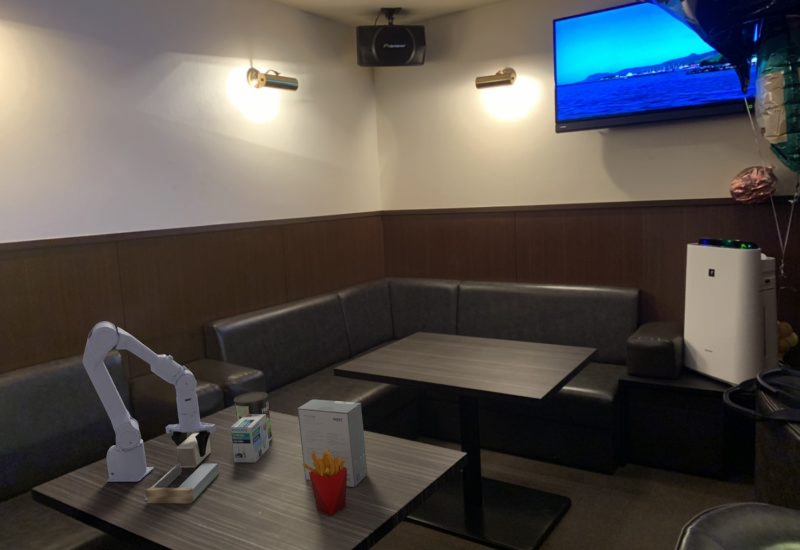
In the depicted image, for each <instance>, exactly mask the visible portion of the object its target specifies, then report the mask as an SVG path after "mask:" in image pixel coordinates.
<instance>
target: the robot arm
mask: <svg viewBox="0 0 800 550" xmlns="http://www.w3.org/2000/svg"><path fill="white" fill-rule="evenodd" d="M113 348H115V350H117V351H119V350H126V351H128V352H130V353H132V354H133V355H135V356H136V357H138V358H140V359H141V360H143V361H144V362H146V363H147V364H149V366H150V371H151V372H152V373H154V374H155V375H156V376H158V377H160V378H161V379H162V380H164V381H165V382H167V383H169V384H172V385H174V388H175V392H176V393H175V394H176V397H175V398H176V399H175V400H176V406H177V416H178V417H177V418H178V422H179V423H176V424H175V423H174V424H168V425H167V426H165V433H166V434H172V435H171V437H170V438H171V440H172V441H173V443H174V444H175V445H176V447H178V446H179V445H180V444H181V443H182V442H184V441H185V440H186V439H187V438H188V436H187V435H188V433H199V434H197V435H196V436H195V438H196V440H197V443H198V446H199V454H200V457H203V456H204V455H205V454H206V446H207V442H208V438H209V439H210V435H211V434H213V433H215V432H216V429H217V428H216V423H207V422H201V418H200V408H199V400H198V394H197V386H198V381H197V379H196V378H195V376H194V375H195V374H194V373H193V372H192V371H191V370H190V369H189V368H187V366H185V365H181V364H179V363H178V362H176V361H175V360H174V357H173V356H172V355H170V354H169V355H166V354H165V353H164V354H157V353H155V352H154V351H153V350H152V349H150V348H149V347H148V346H146V345H145V344H143V343H142V342H141V341H140V340H138V338H136V337H135V336H133V335H132V334H130V333H129V332H127V331H126V330H124V329H122V328H121V327H119V326H117V328H116V326H115V324H114V323H112V322H110V321H107V320H106V321H104V320H103V321H99V322H97V323H96V324H95V325H94V326H93V327H92V329H91V330H90V331H89V333H88V335H87V340H86V345H85V347H84V352H83V357H82V365H83V367H84V369H85V371H86V374H87V375H88V377H89V379H90V381H91V383H92V385H93V387H94V389H95V391H96V393H97V395H98V397H99V399H100V401H101V403H102V405H103V407H104V409H105V411H106V413H107V416H108V418H109V420H110V422H111V425H112V428H113V430H114V433H115V445H112V446H110V447H109V449H108V450H107V453H106V465H107V472H108V479H107V482H109V483H111V482H115V483H117V482H118V483H119V482H120V483H121V482H122V483H123V482H124V483H126V482H127V483H128V482H133V483H134V482H136V483H137V482H140V481H141V480H142V479H143V478H145V477H146V476H147V475H148V474H150V472H152V471H153V470H154V469H155V468H154V466H147V459H146V458H147V457H146V452H145V445H144V444H145V443H144V440H143V439H142V434H141V432H140V424H139V422H138V420H136V419H135V418H133V417H132V416H131V414H130V412H129V410H128V409H127V407H126V406H125V404H124V401H123V399H122V397H121V395H120V393H119V391H118V390H117V387H116V385H115V383H114V381H113V378H112V377H111V375H110V373H109V371H108V368H107V367H106V365H105V363H104V360H105V358H106V357H107V355H108V353H109V352H110V351H111V350H112V349H113Z"/></svg>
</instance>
